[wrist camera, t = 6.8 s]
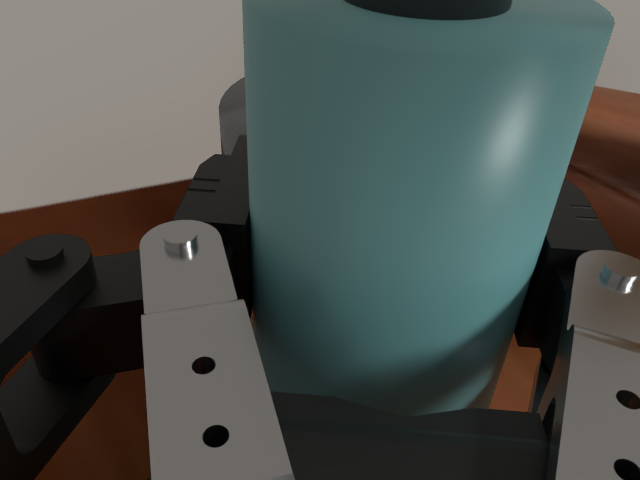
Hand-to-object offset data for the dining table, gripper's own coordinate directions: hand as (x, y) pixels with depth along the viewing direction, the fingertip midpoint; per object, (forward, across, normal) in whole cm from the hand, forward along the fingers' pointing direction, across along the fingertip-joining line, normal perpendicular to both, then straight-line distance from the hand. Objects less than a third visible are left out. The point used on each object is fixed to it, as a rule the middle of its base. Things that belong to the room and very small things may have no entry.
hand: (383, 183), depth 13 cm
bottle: (-3, 0, +8) cm, 8 cm away
